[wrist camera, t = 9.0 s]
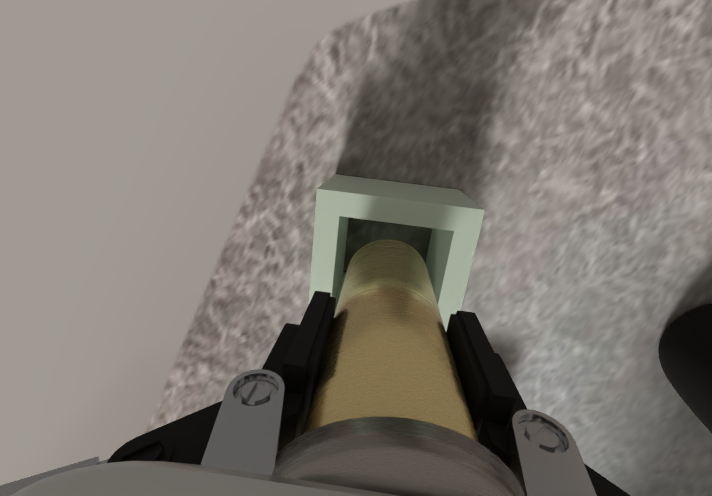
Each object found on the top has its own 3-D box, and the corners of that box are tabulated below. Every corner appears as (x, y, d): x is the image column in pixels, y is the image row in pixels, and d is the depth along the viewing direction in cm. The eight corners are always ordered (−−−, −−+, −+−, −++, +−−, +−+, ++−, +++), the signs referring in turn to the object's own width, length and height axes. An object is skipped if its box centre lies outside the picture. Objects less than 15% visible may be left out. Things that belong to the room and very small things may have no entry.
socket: (458, 189, 21) (485, 210, 16) (435, 300, 24) (450, 352, 18) (335, 174, 22) (317, 188, 16) (325, 285, 24) (306, 331, 19)
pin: (447, 236, 16) (608, 509, 4) (427, 327, 17) (507, 696, 6) (341, 222, 16) (232, 450, 5) (332, 314, 18) (236, 646, 6)
